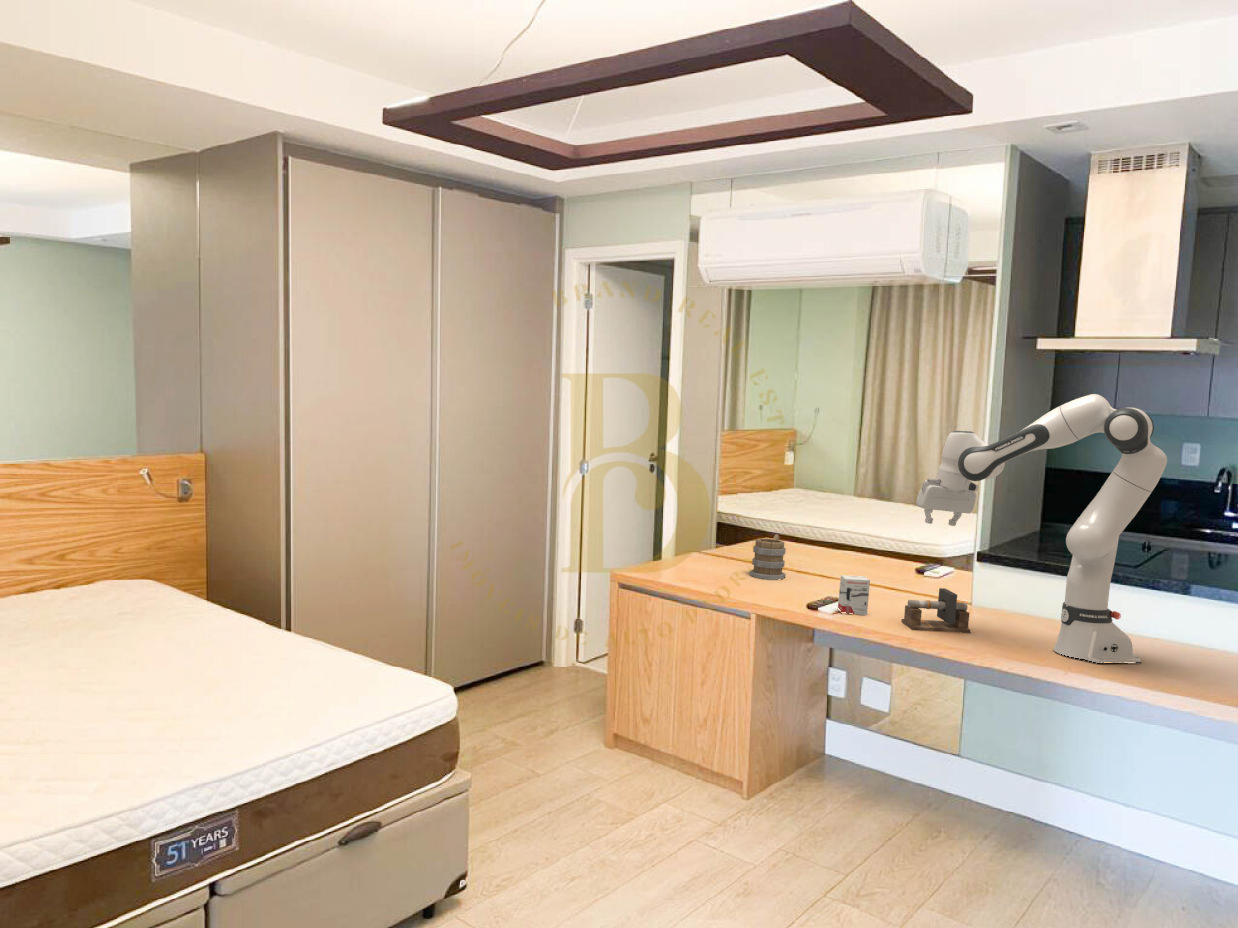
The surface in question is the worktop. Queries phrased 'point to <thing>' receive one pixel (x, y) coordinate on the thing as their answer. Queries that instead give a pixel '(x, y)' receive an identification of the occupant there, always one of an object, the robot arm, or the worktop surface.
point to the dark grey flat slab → (947, 605)
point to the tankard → (768, 559)
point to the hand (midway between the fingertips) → (940, 524)
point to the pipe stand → (915, 623)
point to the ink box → (854, 594)
